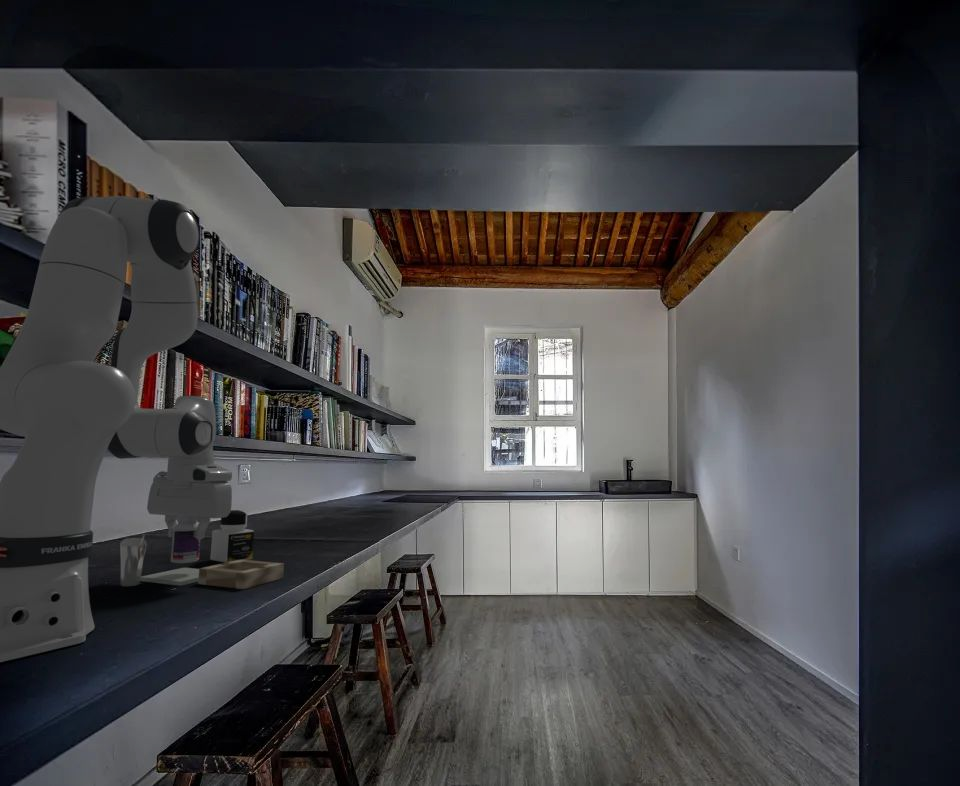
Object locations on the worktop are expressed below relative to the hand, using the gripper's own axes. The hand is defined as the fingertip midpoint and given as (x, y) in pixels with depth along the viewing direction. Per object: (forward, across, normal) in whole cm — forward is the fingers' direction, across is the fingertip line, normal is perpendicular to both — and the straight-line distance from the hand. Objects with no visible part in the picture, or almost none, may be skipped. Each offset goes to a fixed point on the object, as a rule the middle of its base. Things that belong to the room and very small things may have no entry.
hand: (186, 537), depth 120 cm
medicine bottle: (+9, -7, +21) cm, 24 cm away
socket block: (+8, +13, +3) cm, 16 cm away
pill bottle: (+5, 0, 0) cm, 5 cm away
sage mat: (+8, 0, 0) cm, 8 cm away
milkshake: (+8, -4, -9) cm, 13 cm away
